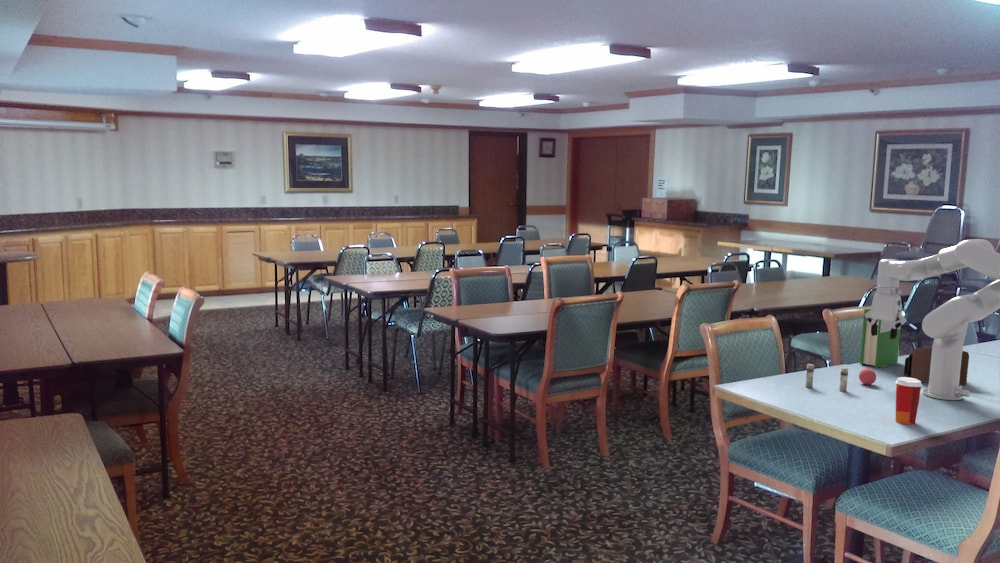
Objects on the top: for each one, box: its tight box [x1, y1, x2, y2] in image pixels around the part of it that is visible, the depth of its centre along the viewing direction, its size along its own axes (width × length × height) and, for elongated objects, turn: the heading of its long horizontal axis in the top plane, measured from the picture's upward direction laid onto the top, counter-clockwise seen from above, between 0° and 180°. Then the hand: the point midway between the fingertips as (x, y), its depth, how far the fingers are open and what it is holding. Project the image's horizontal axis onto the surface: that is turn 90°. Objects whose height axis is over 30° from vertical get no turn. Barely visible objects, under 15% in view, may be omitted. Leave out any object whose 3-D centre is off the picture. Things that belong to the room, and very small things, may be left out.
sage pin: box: [805, 363, 815, 389], centre depth 289 cm, size 2×2×8 cm
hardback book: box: [859, 307, 903, 369], centre depth 329 cm, size 18×7×24 cm, turn 128°
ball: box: [858, 368, 877, 385], centre depth 294 cm, size 6×6×6 cm
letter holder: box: [903, 347, 970, 386], centre depth 302 cm, size 10×20×14 cm, turn 77°
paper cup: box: [895, 376, 923, 426], centre depth 247 cm, size 8×8×14 cm
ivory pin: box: [838, 367, 849, 393], centre depth 284 cm, size 2×2×8 cm
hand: (883, 336), depth 298 cm, fingers open, 6 cm apart
